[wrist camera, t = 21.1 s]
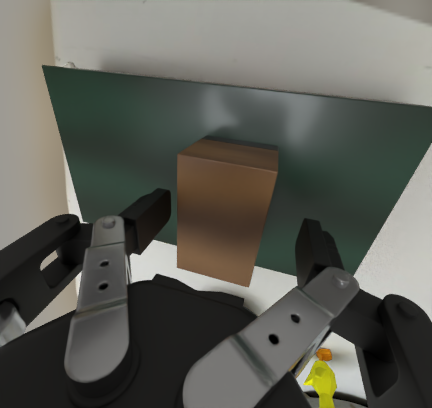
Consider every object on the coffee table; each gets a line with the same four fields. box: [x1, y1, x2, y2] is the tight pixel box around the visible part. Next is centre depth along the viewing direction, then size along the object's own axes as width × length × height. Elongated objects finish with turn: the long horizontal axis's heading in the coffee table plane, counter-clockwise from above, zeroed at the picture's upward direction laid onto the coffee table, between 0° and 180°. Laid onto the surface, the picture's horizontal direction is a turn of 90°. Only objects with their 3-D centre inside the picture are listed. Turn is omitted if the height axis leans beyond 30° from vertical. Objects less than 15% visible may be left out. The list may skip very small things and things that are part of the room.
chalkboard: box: [42, 65, 432, 276], centre depth 19 cm, size 14×26×6 cm, turn 85°
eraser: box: [177, 135, 279, 287], centre depth 14 cm, size 8×5×5 cm, turn 174°
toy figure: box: [303, 349, 337, 408], centre depth 26 cm, size 7×4×12 cm, turn 113°
